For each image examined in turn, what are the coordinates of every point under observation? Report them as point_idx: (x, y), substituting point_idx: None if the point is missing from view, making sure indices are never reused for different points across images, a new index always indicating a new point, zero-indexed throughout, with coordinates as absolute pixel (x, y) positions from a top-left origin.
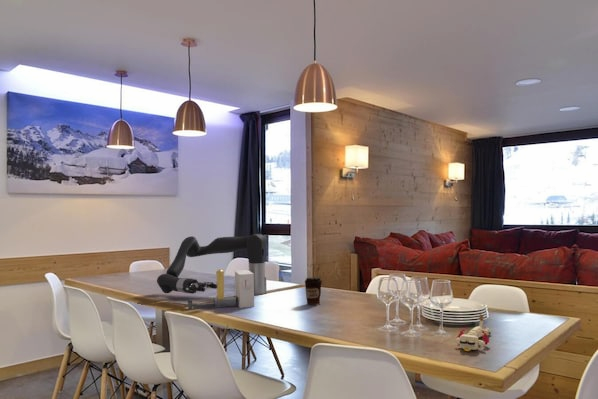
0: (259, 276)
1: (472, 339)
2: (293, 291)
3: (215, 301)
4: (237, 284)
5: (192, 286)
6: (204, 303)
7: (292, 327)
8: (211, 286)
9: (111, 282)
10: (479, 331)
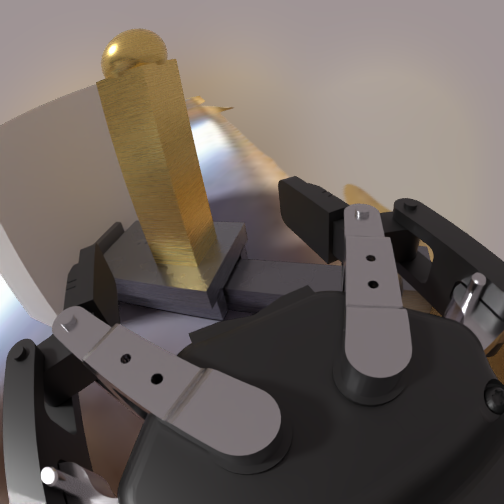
0: None
1: None
2: None
3: (243, 226)
4: (76, 167)
5: (435, 316)
6: (302, 283)
7: (208, 125)
8: (110, 313)
9: None
10: None
